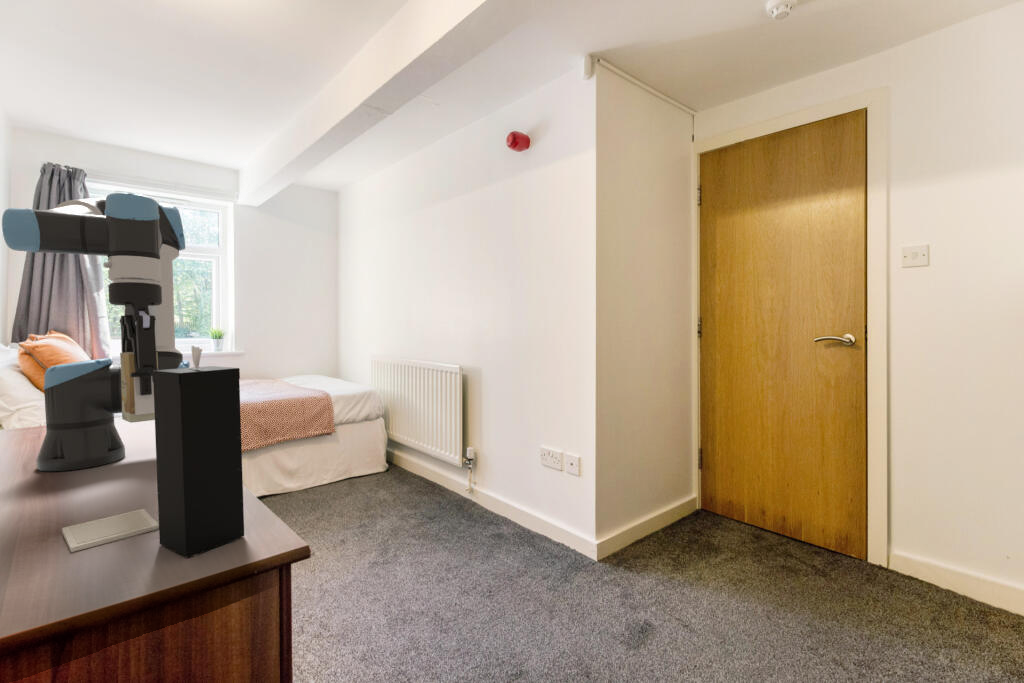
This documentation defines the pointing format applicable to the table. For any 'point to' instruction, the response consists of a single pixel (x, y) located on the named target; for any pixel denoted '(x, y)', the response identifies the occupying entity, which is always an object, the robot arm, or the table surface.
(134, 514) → the coaster
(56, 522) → the table surface
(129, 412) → the skincare box
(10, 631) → the table surface
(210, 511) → the tissue box
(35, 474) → the table surface
